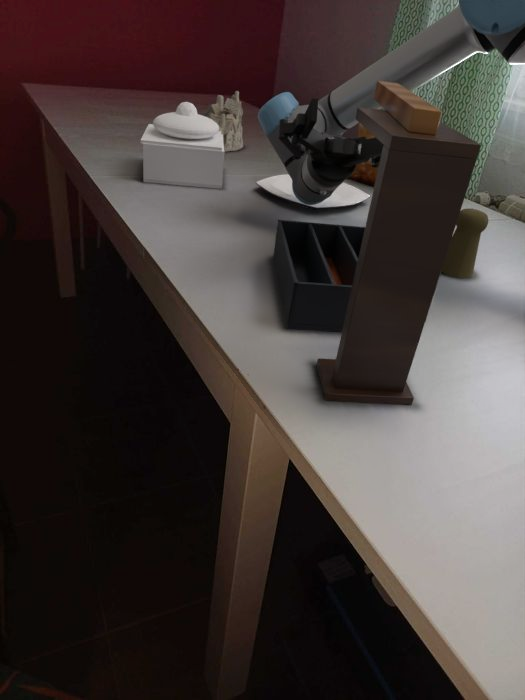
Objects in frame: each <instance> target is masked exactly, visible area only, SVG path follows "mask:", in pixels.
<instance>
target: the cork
mask: <svg viewBox="0 0 525 700" xmlns="http://www.w3.org/2000/svg"><path fill="white" fill-rule="evenodd" d="M488 225H489V215H488V214H487V213H486V212H484V211H482V210H480V209H476V208H463V209H462V208H461V210H460V214H459V217H458V220H457V223H456V226H455V229H454V233H453V236H452V239H451V242H450V245H449V248H448V251H447V255H446V258H445V261H444V264H443V267H442V270H441V273H443V274H445V275H447V276H450V277H453V278H456V279H457V278H458V279H469V278H472V277H473V276H474V270H475V266H476V265H475V264H476V260H477V256H478V250H479V246H480V245H479V244H480V240H481V235H482V233H483V232H484V231H485V230H486V229H487V227H488Z"/></svg>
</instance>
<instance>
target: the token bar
mask: <svg viewBox="0 0 525 700" xmlns="http://www.w3.org/2000/svg"><path fill="white" fill-rule="evenodd" d="M374 99H375V100H376V101H377V102H378V103H379V104H380V105H381V106H382V107H383V110H386V111H387V112H389V113H390V114H391V115H392V116H393V117H394V118H395V119H396V120H397V121H398V122H399V123H400V124H401V125H402V126H403V127H404V128H405V129H407V130H408V131H409V132H413V133H421V134H429V135H436V133H437V130H438V126H439V122H441V119H442V115H443V111H442V110H440V109H439V108H437V107H436V106H434V105H433V104H431V103H429V101H427V100H425V99H423V98H422V97H421V96H419V95H417V94H416V93H414V92H413V91H409V90H408V89H406V88H404V87H403V86H401V85H400V84H398V83H393V82H385V81H377V85H376V90H375V95H374Z"/></svg>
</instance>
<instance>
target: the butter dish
mask: <svg viewBox="0 0 525 700" xmlns="http://www.w3.org/2000/svg"><path fill="white" fill-rule="evenodd" d="M140 145H142V156H143V157H142V158H143V159H142V162H143V163H142V164H143V165H142V168H143V169H142V172H143V173H142V174H143V175H142V177H143V181H142V183H151V184H161V185H171V186H172V185H173V186H182V187H183V186H185V187H195V188H196V187H198V188H207V189H218V190H223V181H224V166H225V153H226V151H224V143H223V134H221V131H219V126H218V125H217V123H216V122H214V121H213V120H212V119H210V118H208V117H205V116H203V114H199V113H198V110H197V108H196V106H195V105H194V103H192V102H189V101H183V102H181V103H179V104H178V106H177V107H176V109H175V111H172V112H166V113H162V114H160V115H157V116H156V117H155V118H154V119H153V121H152V123H148V125H147V126H146V128H145V130H144V132H143V134H142V136H141V138H140Z"/></svg>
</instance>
